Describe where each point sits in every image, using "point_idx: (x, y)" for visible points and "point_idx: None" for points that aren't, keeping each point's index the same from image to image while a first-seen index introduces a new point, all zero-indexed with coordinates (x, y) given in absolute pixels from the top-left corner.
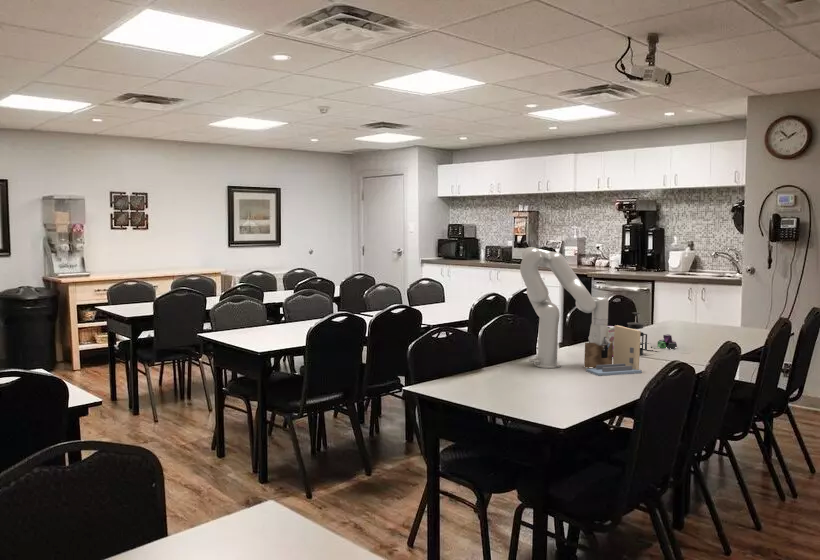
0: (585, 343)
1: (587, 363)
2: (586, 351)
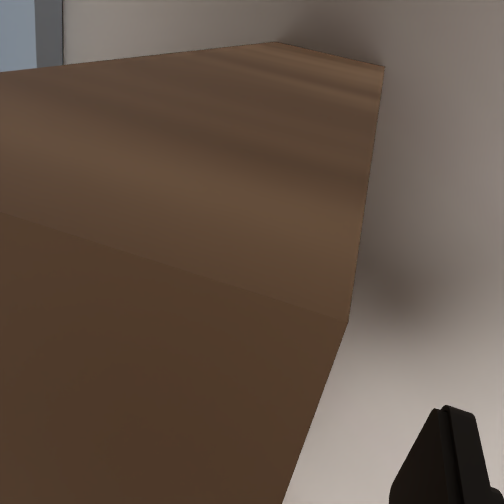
0: (251, 264)
1: (263, 45)
2: (243, 84)
